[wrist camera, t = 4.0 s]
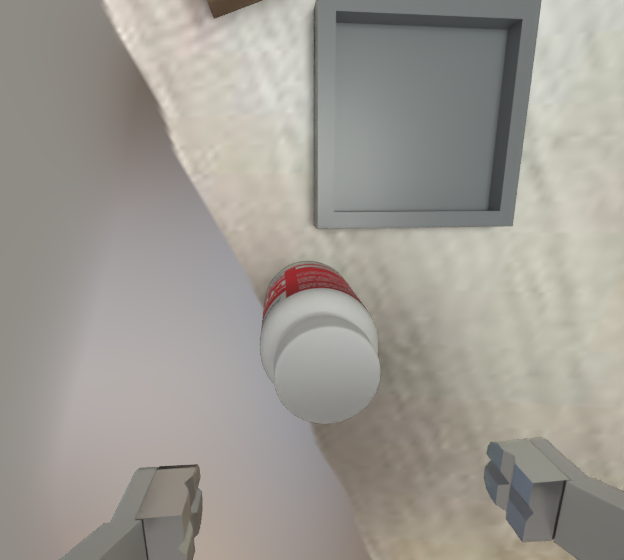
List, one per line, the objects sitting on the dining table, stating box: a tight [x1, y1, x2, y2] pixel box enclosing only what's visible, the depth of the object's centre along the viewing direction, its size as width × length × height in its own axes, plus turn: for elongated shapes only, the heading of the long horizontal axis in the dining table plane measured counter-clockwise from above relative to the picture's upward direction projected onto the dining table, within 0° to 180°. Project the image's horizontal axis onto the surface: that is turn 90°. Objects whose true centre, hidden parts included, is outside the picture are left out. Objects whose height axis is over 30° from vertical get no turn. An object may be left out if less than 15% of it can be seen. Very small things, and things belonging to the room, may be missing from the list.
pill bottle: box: [260, 262, 381, 424], centre depth 21 cm, size 6×6×11 cm
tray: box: [314, 0, 541, 228], centre depth 23 cm, size 13×13×2 cm
